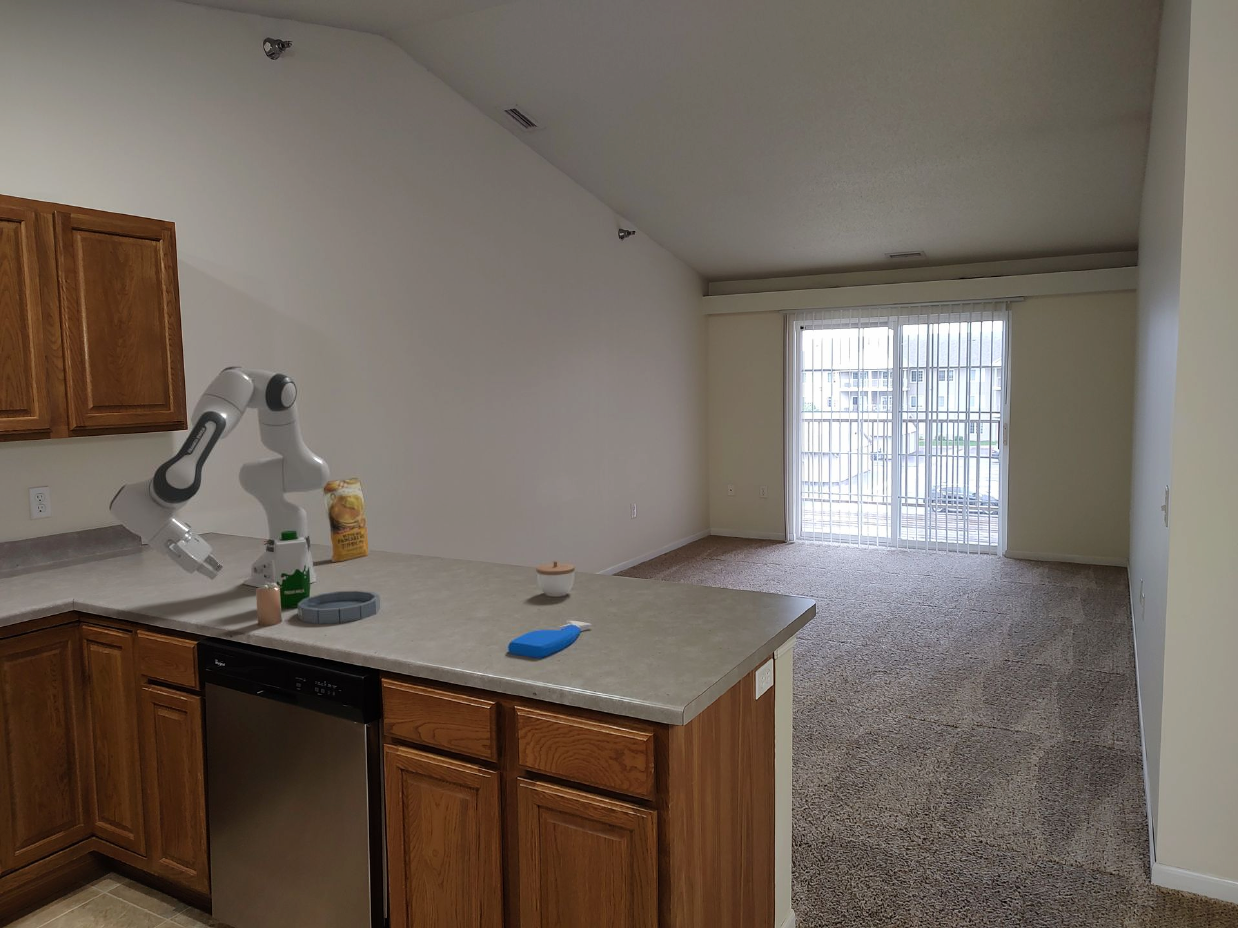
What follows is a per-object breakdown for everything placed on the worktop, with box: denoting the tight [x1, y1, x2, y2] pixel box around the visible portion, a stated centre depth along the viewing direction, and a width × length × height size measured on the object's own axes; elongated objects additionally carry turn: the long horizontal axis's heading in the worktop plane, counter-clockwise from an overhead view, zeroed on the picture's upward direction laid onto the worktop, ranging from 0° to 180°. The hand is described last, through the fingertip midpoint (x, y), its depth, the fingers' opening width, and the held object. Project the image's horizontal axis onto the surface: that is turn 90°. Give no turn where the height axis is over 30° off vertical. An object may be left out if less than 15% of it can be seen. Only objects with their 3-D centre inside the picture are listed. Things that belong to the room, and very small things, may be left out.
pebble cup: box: [255, 582, 283, 627], centre depth 214 cm, size 6×6×10 cm
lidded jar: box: [535, 560, 576, 598], centre depth 236 cm, size 11×11×9 cm
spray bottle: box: [507, 620, 592, 659], centre depth 192 cm, size 3×11×24 cm
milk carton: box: [274, 531, 311, 610], centre depth 231 cm, size 9×9×20 cm
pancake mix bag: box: [322, 477, 370, 563], centre depth 295 cm, size 7×19×28 cm, turn 149°
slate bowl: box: [297, 590, 381, 625], centre depth 222 cm, size 20×20×4 cm
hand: (218, 573), depth 209 cm, fingers open, 8 cm apart
